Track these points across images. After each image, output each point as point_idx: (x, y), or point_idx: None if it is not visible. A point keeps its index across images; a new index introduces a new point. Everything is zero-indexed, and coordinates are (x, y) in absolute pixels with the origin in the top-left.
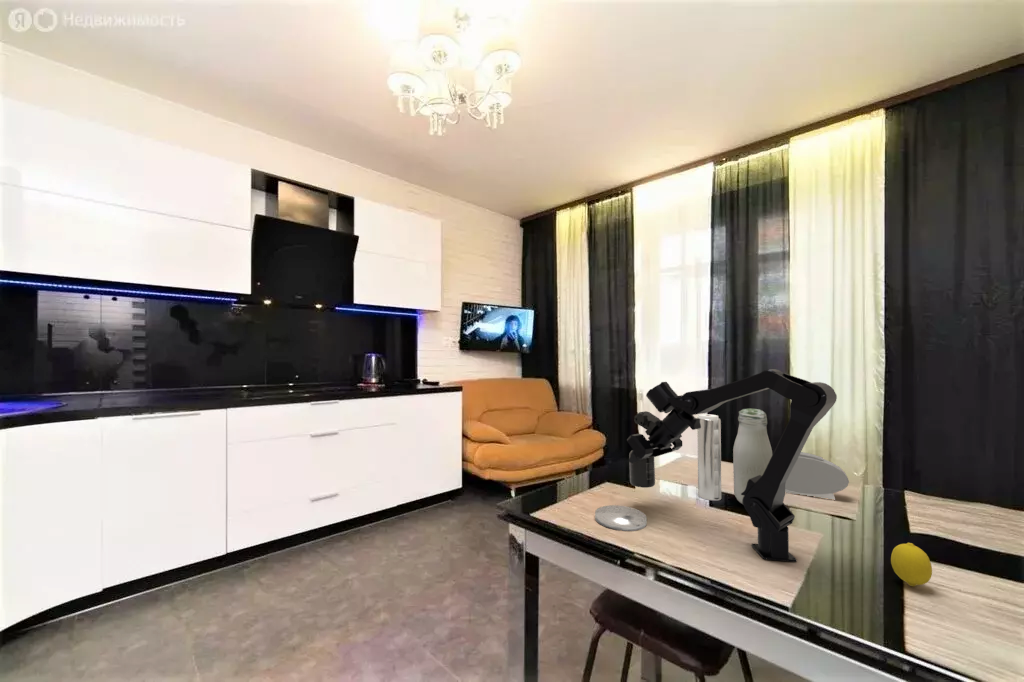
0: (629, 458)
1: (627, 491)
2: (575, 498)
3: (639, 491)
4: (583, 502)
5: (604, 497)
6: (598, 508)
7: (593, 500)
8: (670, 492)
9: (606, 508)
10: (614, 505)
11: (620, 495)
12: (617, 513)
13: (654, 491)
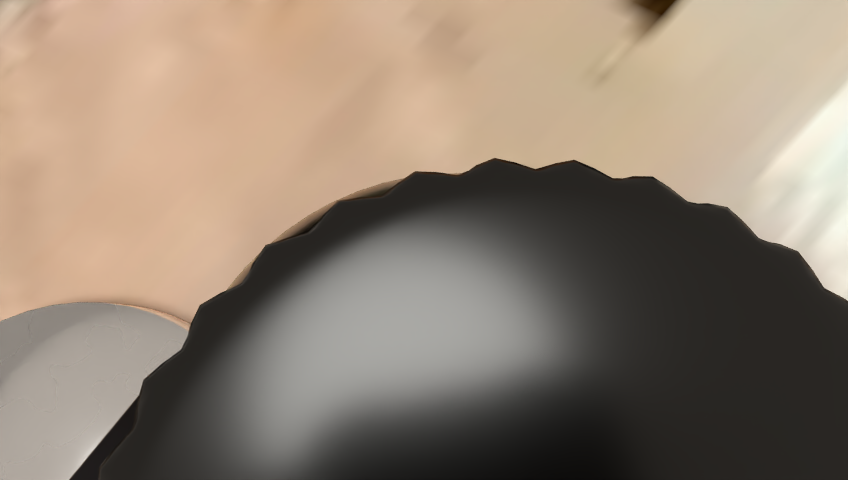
0: (123, 415)
1: (553, 59)
2: (102, 8)
3: (635, 96)
4: (100, 95)
5: (311, 82)
6: (6, 323)
7: (195, 95)
8: (833, 209)
9: (65, 349)
10: (168, 325)
11: (448, 100)
12: (63, 473)
13: (738, 143)
